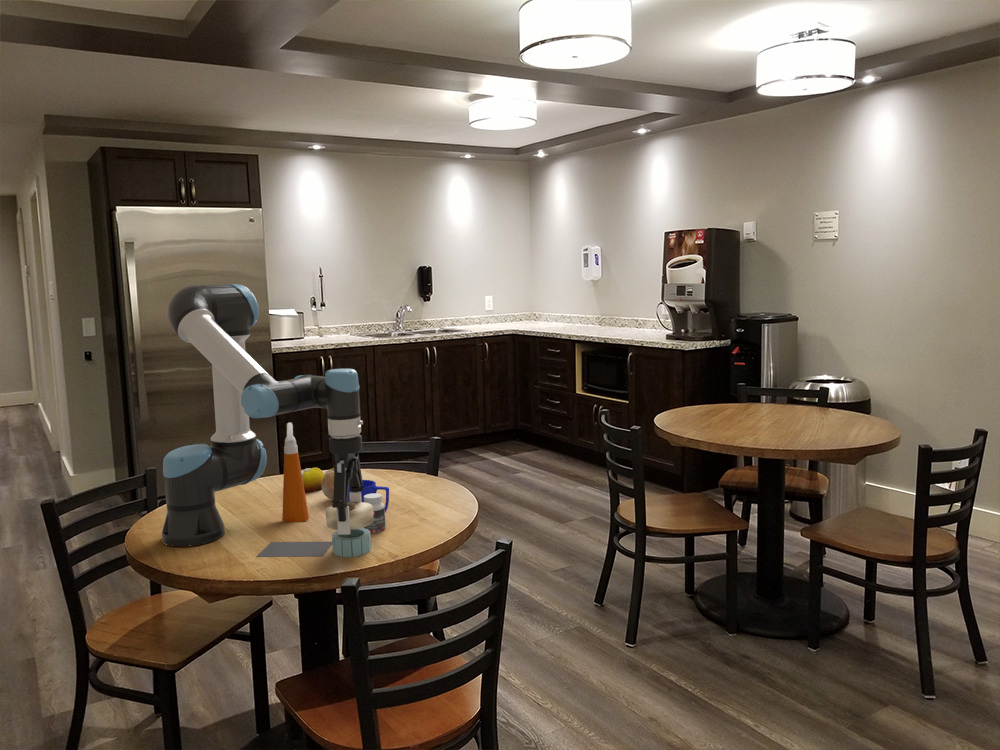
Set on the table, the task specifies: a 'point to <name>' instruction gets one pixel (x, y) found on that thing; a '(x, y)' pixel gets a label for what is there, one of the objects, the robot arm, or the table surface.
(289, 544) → the mat
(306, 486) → the fruit
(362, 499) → the mug
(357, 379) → the robot arm
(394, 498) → the table surface
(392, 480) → the table surface
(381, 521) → the pill bottle
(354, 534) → the bowl
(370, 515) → the lid
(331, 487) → the fruit
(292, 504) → the orange squeeze bottle
